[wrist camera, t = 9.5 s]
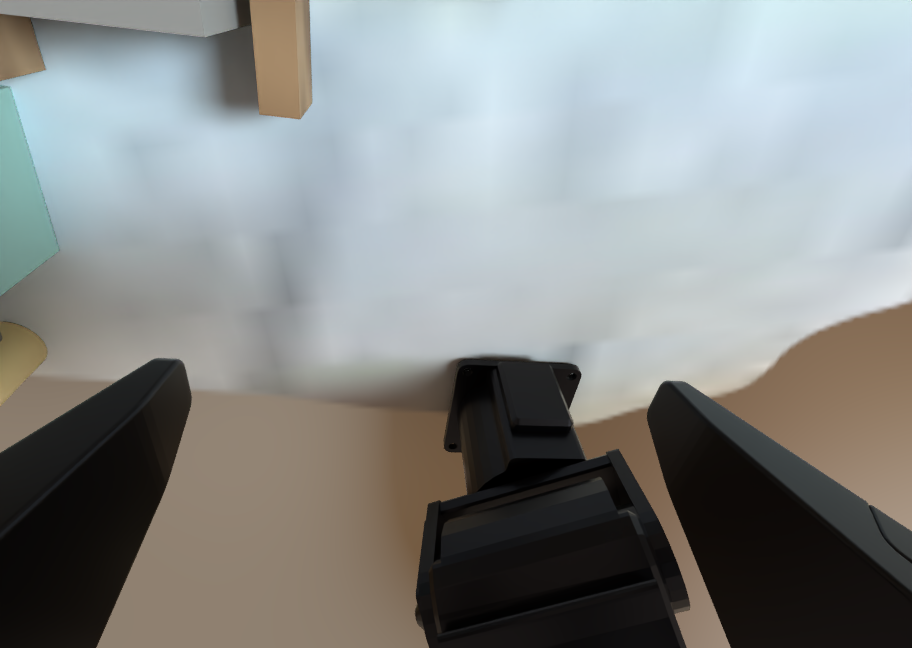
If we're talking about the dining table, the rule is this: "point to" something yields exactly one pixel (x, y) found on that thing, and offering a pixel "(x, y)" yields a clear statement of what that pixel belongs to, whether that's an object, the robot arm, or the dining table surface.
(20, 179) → the teal cube mallet
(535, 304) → the dining table surface
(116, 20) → the slate block
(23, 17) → the shelf
